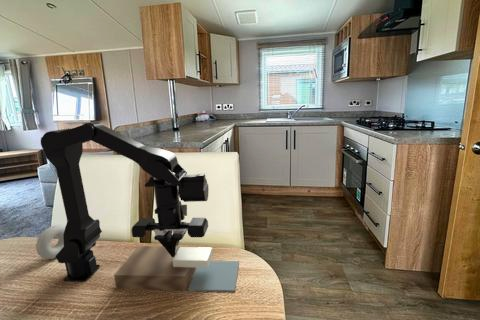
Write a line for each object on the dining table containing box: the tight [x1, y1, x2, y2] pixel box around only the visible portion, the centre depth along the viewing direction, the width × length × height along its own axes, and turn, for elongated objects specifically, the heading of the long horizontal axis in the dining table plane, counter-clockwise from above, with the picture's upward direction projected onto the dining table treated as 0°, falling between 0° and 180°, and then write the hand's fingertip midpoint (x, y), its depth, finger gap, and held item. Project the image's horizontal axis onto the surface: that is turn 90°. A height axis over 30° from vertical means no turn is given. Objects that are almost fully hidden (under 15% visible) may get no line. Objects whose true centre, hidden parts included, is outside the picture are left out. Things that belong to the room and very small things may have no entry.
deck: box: [113, 245, 196, 291], centre depth 70 cm, size 18×13×4 cm
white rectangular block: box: [173, 246, 213, 268], centre depth 68 cm, size 9×6×2 cm, turn 84°
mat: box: [187, 260, 240, 293], centre depth 68 cm, size 12×12×1 cm
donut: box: [35, 224, 66, 260], centre depth 79 cm, size 10×4×10 cm, turn 162°
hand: (174, 256), depth 69 cm, fingers closed
